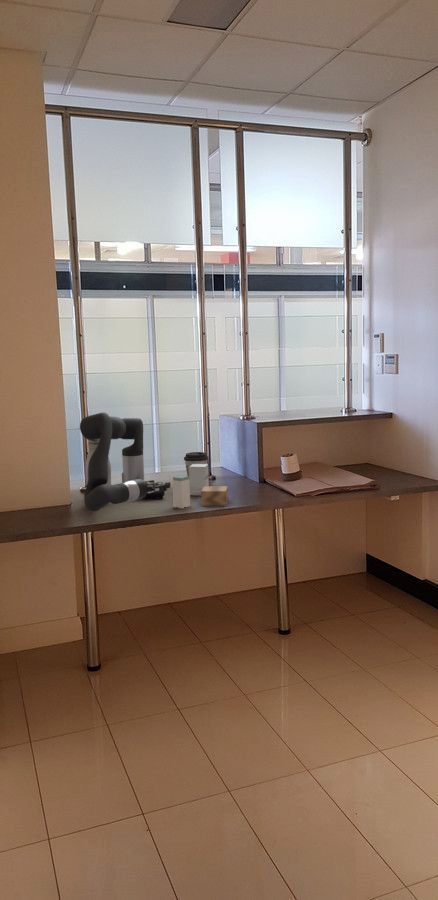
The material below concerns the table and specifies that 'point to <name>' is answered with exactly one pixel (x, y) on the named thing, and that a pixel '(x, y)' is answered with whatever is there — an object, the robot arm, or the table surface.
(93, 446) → the glass bottle
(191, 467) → the supplement box
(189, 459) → the coffee cup
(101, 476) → the robot arm
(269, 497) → the table surface
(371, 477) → the table surface
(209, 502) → the oak box
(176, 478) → the cream carton
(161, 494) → the end cap
